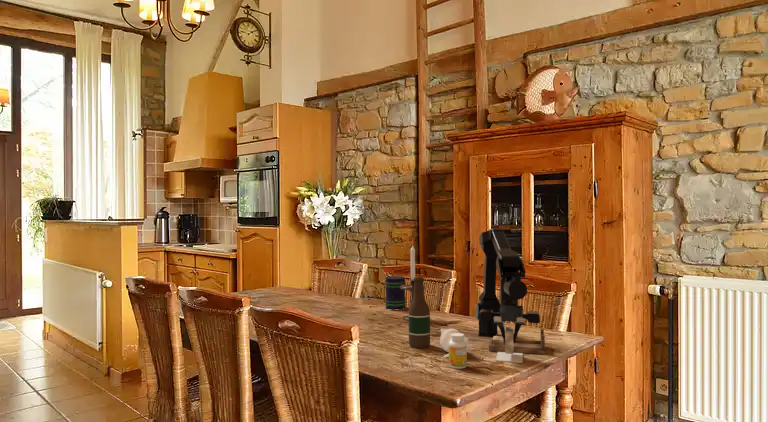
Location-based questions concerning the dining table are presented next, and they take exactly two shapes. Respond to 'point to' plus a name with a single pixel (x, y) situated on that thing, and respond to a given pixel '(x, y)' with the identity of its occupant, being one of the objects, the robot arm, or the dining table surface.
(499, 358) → the felt pad
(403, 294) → the storage jar
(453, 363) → the supplement bottle
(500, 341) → the offcut stack
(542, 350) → the rack
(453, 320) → the dining table surface
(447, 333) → the cat figurine
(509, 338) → the birch sheet
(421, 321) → the beer bottle
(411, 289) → the candlestick
